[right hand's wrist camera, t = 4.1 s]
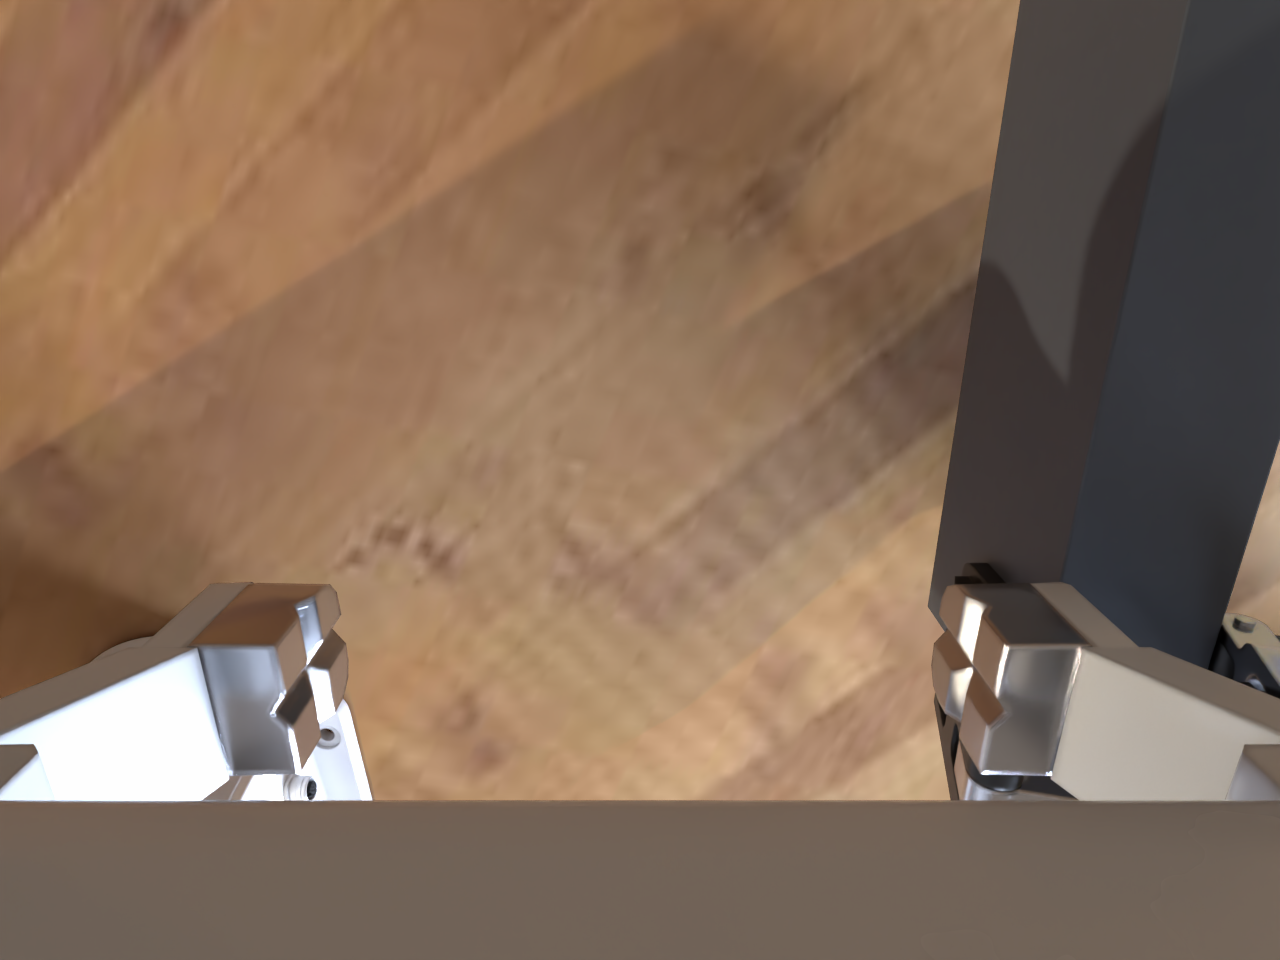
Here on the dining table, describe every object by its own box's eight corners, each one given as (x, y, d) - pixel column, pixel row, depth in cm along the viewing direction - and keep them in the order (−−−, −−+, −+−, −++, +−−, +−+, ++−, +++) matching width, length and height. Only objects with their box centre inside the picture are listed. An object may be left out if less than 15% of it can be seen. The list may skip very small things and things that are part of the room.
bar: (1052, -219, 22) (1289, -457, 14) (1225, -221, 22) (1565, -460, 14) (926, 606, 31) (1022, 749, 23) (1046, 606, 31) (1183, 749, 23)
